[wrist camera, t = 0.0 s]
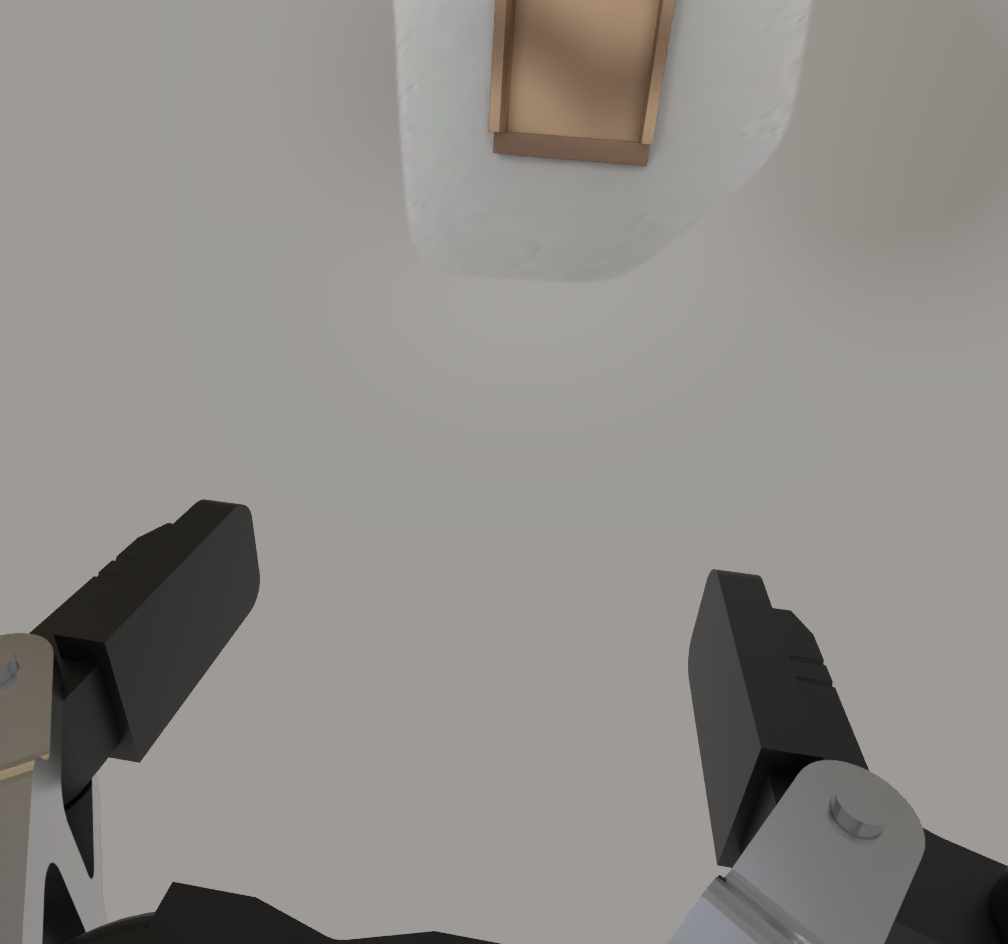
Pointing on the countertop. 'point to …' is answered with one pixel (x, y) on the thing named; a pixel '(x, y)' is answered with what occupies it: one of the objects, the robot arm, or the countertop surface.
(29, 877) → the robot arm
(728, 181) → the countertop surface
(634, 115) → the tan open box
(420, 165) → the countertop surface
